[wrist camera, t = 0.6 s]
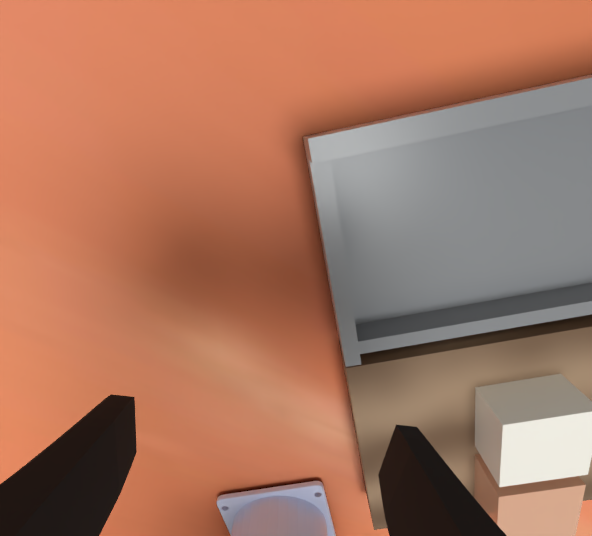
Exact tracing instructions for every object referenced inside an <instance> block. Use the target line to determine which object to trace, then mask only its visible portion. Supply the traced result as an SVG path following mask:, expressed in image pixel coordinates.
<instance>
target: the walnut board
mask: <svg viewBox="0 0 592 536" xmlns="http://www.w3.org/2000/svg"><path fill="white" fill-rule="evenodd" d="M339 342H340V340H339ZM340 348H341V345H340ZM341 354H342V359H343V365H344V370H345V376H346V382H347V387H348V393H349V398H350V404H351V410H352V415H353V421H354V426H355V432H356V438H357V443H358V449H359V454H360V460H361V465H362V471H363V477H364V482H365V488H366V493H367V498H368V503H369V508H370V512H371V517H372V522H373V527H374V530H376V529H383V528H387V524H386V520H385V515H384V509H383V503H382V497H381V490H380V484H379V477H378V474H379V471H380V468H381V465H382V463H383V460H384V457H385V454H386V451H387V449H388V446H389V443H390V440H391V437H392V435H393V432H394V429H395V426H396V425H404V426H414V427H417V428H418V429H419V430H420V431H421V432H422V434H423V435H424V436H425V437H426V439H427V440H428V441H429V442H430V444H431V445H432V446H433V447H434V449H435V450H436V451H437V452H438V454H439V455H440V456H441V458H442V459H443V460H444V461H445V463H446V464H447V465H448V466H449V468H450V469H451V470H452V471H453V473H454V474H455V475H456V476H457V478H458V479H459V480H460V481H461V482H462V484H463V485H464V486H465V487H466V489H467V490H468V491H469V492H470V493H471V495H472V496H473V497H474V470H475V455H476V454H479V452H478V450H477V448H476V447H475V387H481V386H487V385H493V384H500V383H506V382H512V381H518V380H524V379H530V378H537V377H543V376H549V375H555V374H562V375H563V376H564V377H565V378H566V379H567V380H568V381H570V382H571V383H572V384H573V385H574V386H575V387H576V388H577V389H578V390H580V391H581V392H582V393H583V394H584V395H585V396H586V397H587V398H588V399H590V400H591V401H592V314H591V315H585V316H579V317H573V318H568V319H562V320H556V321H550V322H544V323H539V324H533V325H527V326H521V327H515V328H510V329H504V330H498V331H492V332H486V333H480V334H475V335H469V336H463V337H457V338H451V339H446V340H440V341H434V342H428V343H422V344H417V345H411V346H405V347H399V348H393V349H388V350H382V351H376V352H370V353H364V354H360V358H361V365H355V366H349V367H346V366H345V362H344V357H343V353H342V349H341ZM579 477H580V478H581V480H582V481H583V482H584V483H585V484H586V487H585V492H584V496H583V501H585V500H592V458H591V462H590V467H589V472H588V475H582V476H579Z"/></svg>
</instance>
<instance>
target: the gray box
mask: <svg viewBox="0 0 592 536" xmlns="http://www.w3.org/2000/svg"><path fill="white" fill-rule="evenodd" d="M303 141H304V147H305V152H306V158H307V164H308V169H309V175H310V180H311V186H312V191H313V197H314V203H315V208H316V214H317V219H318V225H319V231H320V236H321V242H322V247H323V253H324V259H325V264H326V270H327V275H328V281H329V287H330V292H331V298H332V303H333V309H334V314H335V320H336V326H337V331H338V336H339V340H340V345H341V349H342V353H343V357H344V362H345V366H346V367H349V366H355V365H361V358H360V354H364V353H370V352H376V351H382V350H388V349H393V348H399V347H405V346H411V345H417V344H422V343H428V342H434V341H440V340H446V339H451V338H457V337H463V336H469V335H475V334H480V333H486V332H492V331H498V330H504V329H510V328H515V327H521V326H527V325H533V324H539V323H544V322H550V321H556V320H562V319H568V318H573V317H579V316H585V315H591V314H592V74H591V75H586V76H581V77H577V78H572V79H567V80H563V81H558V82H554V83H549V84H544V85H540V86H535V87H530V88H526V89H521V90H516V91H512V92H507V93H502V94H498V95H493V96H489V97H484V98H479V99H475V100H470V101H465V102H461V103H456V104H451V105H447V106H442V107H438V108H433V109H428V110H424V111H419V112H414V113H410V114H405V115H400V116H396V117H391V118H387V119H382V120H377V121H373V122H368V123H363V124H359V125H354V126H349V127H345V128H340V129H336V130H331V131H326V132H322V133H317V134H312V135H308V136H303Z"/></svg>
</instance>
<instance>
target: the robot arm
mask: <svg viewBox="0 0 592 536" xmlns="http://www.w3.org/2000/svg"><path fill="white" fill-rule="evenodd" d="M135 454H136V428H135V401H134V397H129V396H119V395H110V396H108V397H107V398H106V399H104V400H103V401H102V402H101V403H100V404H99V405H97V406H96V407H95V408H94V409H93V410H91V411H90V412H89V413H88V414H87V415H86V416H84V417H83V418H82V419H81V420H80V421H79V422H77V423H76V424H75V425H74V426H73V427H71V428H70V429H69V430H68V431H67V432H65V433H64V434H63V435H62V436H61V437H59V438H58V439H57V440H56V441H55V442H53V443H52V444H51V445H50V446H48V447H47V448H46V449H45V450H43V451H42V452H41V453H40V454H38V455H37V456H36V457H35V458H34V459H32V460H31V461H30V462H29V463H27V464H26V465H25V466H24V467H22V468H21V469H20V470H19V471H17V472H16V473H15V474H13V475H12V476H11V477H9V478H8V479H7V480H5V481H4V482H3V483H1V484H0V536H99V535H100V533H101V531H102V529H103V527H104V525H105V523H106V521H107V519H108V517H109V515H110V513H111V511H112V509H113V507H114V505H115V503H116V501H117V499H118V497H119V495H120V493H121V490H122V488H123V485H124V483H125V480H126V478H127V475H128V473H129V470H130V468H131V465H132V462H133V460H134V457H135ZM378 477H379V484H380V490H381V497H382V503H383V509H384V515H385V520H386V524H387V528H388V531H389V535H390V536H507V535H506V534H505V533H504V532H503V531H502V530H501V529H500V528H499V526H498V525H497V524H496V523H495V522H494V521H493V520H492V518H491V517H490V516H489V515H488V514H487V513H486V511H485V510H484V509H483V508H482V507H481V505H480V504H479V503H478V502H477V501H476V499H475V498H474V497H473V496H472V495H471V493H470V492H469V491H468V490H467V489H466V487H465V486H464V485H463V484H462V482H461V481H460V480H459V479H458V478H457V476H456V475H455V474H454V473H453V471H452V470H451V469H450V468H449V466H448V465H447V464H446V463H445V461H444V460H443V459H442V458H441V456H440V455H439V454H438V452H437V451H436V450H435V449H434V447H433V446H432V445H431V444H430V442H429V441H428V440H427V439H426V437H425V436H424V435H423V434H422V432H421V431H420V430H419V429H418V428H417V427H414V426H404V425H396V426H395V429H394V432H393V435H392V437H391V440H390V443H389V446H388V449H387V451H386V454H385V457H384V460H383V463H382V465H381V468H380V471H379V474H378ZM216 503H217V506H218V508H219V511H220V513H221V515H222V517H223V519H224V522H225V524H226V526H227V528H228V530H229V533H230V535H231V536H336V533H335V529H334V526H333V522H332V518H331V514H330V510H329V506H328V502H327V498H326V494H325V490H324V486H323V483H322V482H320V481H311V482H304V483H297V484H291V485H284V486H277V487H270V488H264V489H257V490H250V491H244V492H237V493H230V494H224V495H220V496H219V497H218V498H217V502H216Z"/></svg>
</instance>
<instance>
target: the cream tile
mask: <svg viewBox="0 0 592 536" xmlns="http://www.w3.org/2000/svg"><path fill="white" fill-rule="evenodd" d="M475 447H476V448H477V450H478V452H479V454H480V455H481V457H482V459H483V460H484V462H485V464H486V465H487V467H488V469H489V471H490V472H491V474H492V476H493V477H494V479H495V481H496V482H497V484H498V486H499V487H505V486H512V485H519V484H526V483H533V482H540V481H547V480H554V479H561V478H568V477H575V476H582V475H588V472H589V467H590V462H591V458H592V401H591V400H590V399H588V398H587V397H586V396H585V395H584V394H583V393H582V392H581V391H580V390H578V389H577V388H576V387H575V386H574V385H573V384H572V383H571V382H570V381H568V380H567V379H566V378H565V377H564V376H563V375H562V374H555V375H549V376H543V377H537V378H530V379H524V380H518V381H512V382H506V383H500V384H493V385H487V386H481V387H475Z"/></svg>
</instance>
